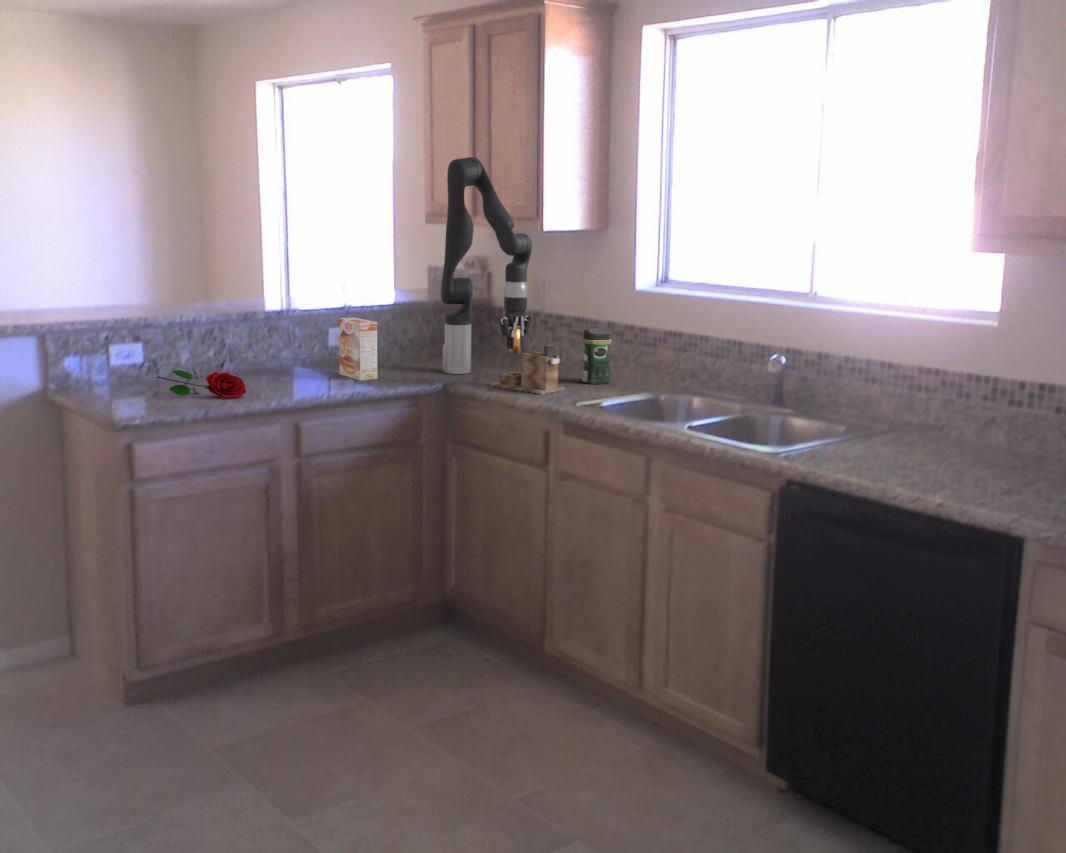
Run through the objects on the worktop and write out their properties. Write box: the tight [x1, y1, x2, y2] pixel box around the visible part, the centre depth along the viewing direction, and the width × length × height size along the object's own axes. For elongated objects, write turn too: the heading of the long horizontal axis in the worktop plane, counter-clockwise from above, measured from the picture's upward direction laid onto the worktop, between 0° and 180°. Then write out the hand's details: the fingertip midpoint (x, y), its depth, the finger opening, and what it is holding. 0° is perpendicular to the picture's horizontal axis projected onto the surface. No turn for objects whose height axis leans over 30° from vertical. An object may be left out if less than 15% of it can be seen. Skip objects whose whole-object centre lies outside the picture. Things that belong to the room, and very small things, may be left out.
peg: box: [508, 328, 521, 355], centre depth 371 cm, size 4×4×8 cm
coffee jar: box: [581, 327, 612, 385], centre depth 383 cm, size 10×8×19 cm
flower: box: [156, 367, 247, 400], centre depth 345 cm, size 9×9×30 cm
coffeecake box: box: [338, 317, 378, 381], centre depth 383 cm, size 15×7×20 cm, turn 37°
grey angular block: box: [533, 344, 561, 364], centre depth 365 cm, size 12×3×6 cm, turn 50°
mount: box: [490, 351, 566, 395], centre depth 370 cm, size 22×12×12 cm, turn 50°
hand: (514, 347), depth 372 cm, fingers closed on peg, 3 cm apart
